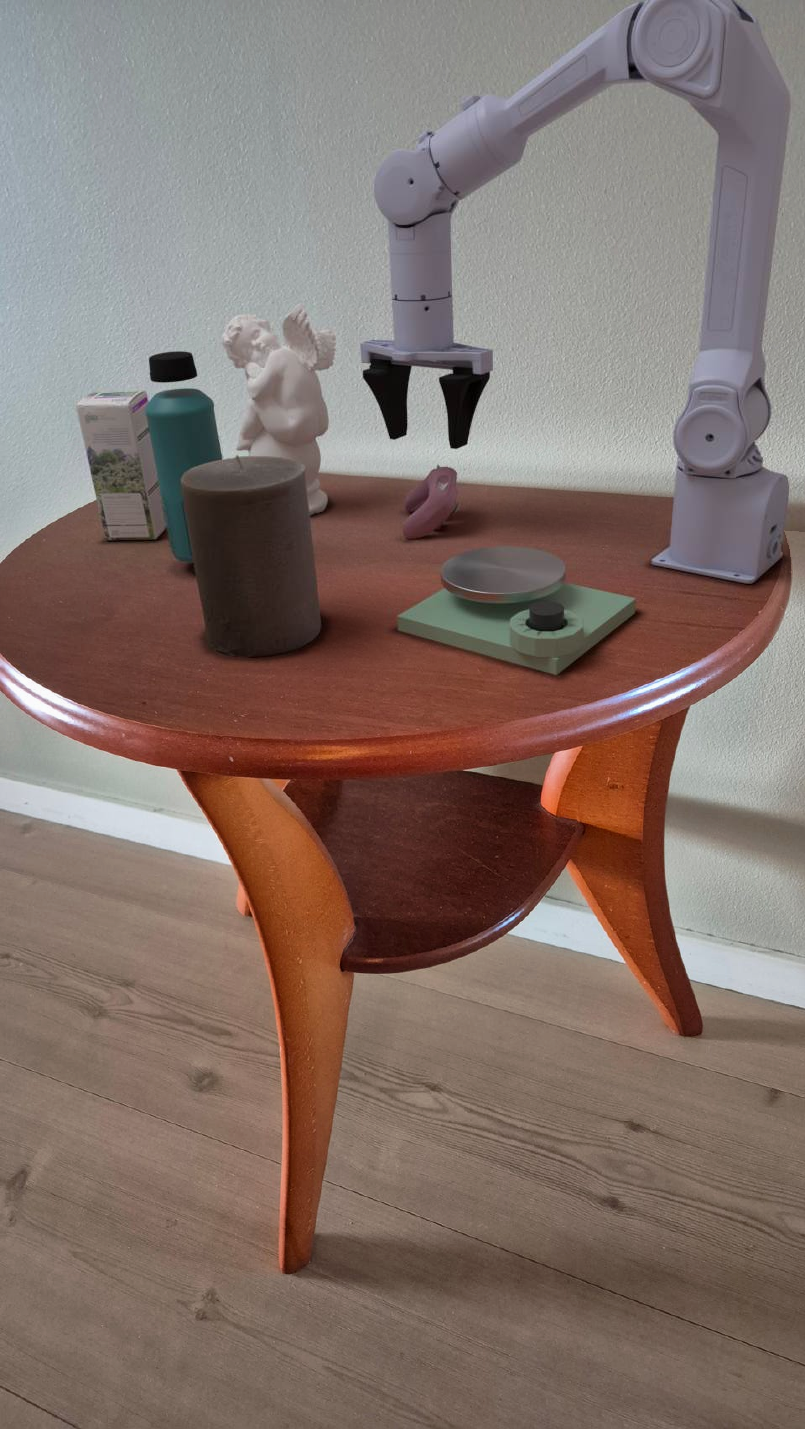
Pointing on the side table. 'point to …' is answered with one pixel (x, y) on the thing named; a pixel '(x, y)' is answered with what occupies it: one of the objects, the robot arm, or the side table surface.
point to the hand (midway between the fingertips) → (427, 441)
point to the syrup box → (122, 464)
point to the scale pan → (503, 574)
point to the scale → (520, 625)
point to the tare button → (546, 616)
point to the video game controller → (431, 502)
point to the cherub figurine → (283, 391)
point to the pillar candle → (253, 554)
